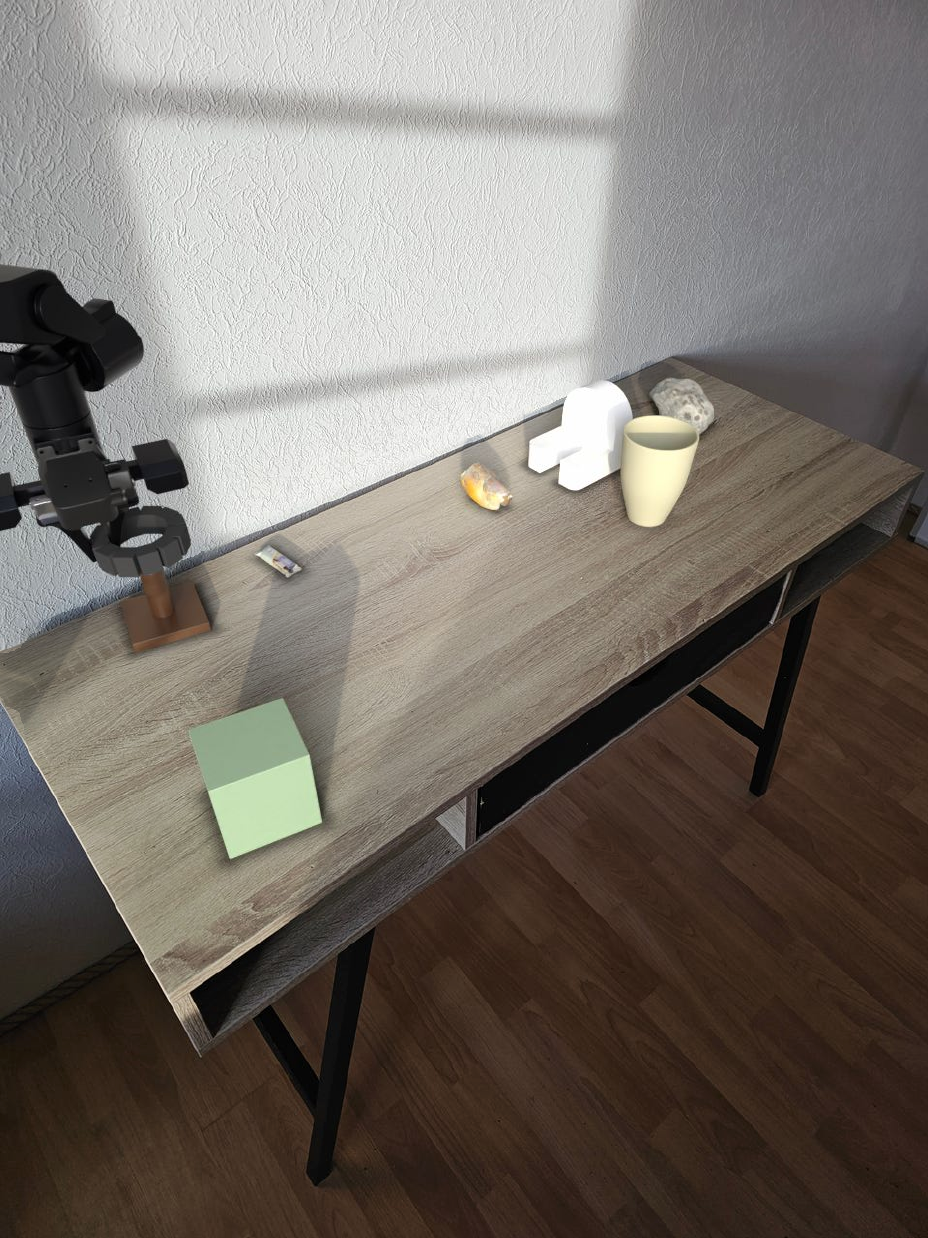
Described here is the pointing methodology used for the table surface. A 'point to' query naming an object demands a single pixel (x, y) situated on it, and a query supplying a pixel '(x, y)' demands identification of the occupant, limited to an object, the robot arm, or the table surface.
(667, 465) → the mug
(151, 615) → the stand
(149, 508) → the chunky treaded tire
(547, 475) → the table surface
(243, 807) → the riser box
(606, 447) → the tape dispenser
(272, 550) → the granola bar
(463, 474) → the shell
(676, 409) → the decorative stone
